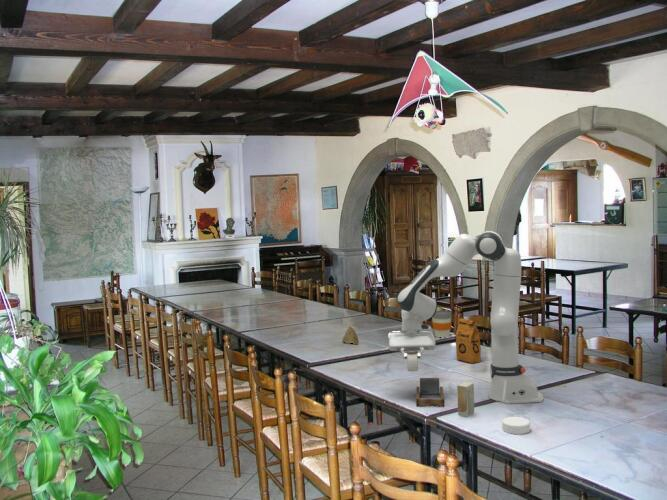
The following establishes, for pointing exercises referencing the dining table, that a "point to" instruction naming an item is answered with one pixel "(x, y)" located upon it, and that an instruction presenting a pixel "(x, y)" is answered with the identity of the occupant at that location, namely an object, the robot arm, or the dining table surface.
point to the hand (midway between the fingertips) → (412, 357)
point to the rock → (350, 336)
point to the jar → (412, 359)
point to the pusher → (429, 386)
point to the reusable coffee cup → (442, 323)
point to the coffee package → (468, 342)
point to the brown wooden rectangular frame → (430, 400)
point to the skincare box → (465, 398)
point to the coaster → (516, 425)
